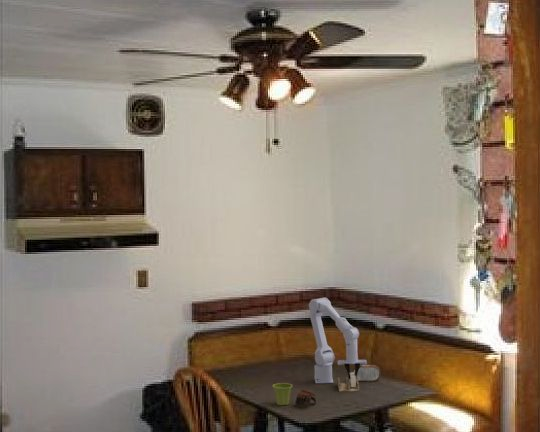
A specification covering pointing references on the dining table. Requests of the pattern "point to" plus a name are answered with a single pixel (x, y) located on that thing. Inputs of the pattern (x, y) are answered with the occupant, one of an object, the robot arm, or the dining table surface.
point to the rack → (347, 386)
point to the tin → (368, 373)
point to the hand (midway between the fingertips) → (352, 378)
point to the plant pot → (282, 393)
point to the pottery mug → (306, 400)
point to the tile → (352, 380)
